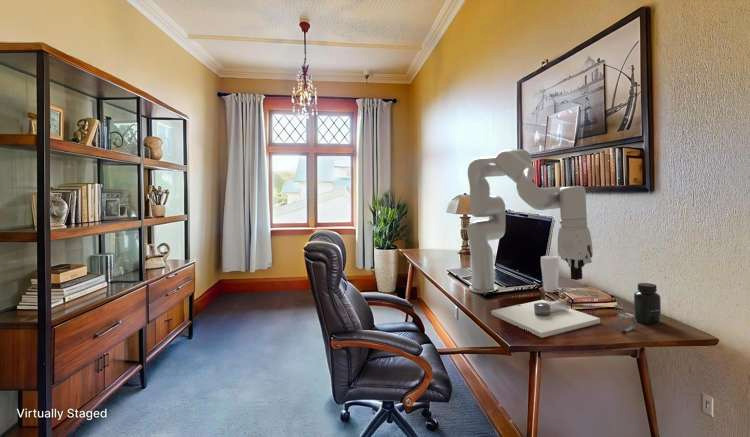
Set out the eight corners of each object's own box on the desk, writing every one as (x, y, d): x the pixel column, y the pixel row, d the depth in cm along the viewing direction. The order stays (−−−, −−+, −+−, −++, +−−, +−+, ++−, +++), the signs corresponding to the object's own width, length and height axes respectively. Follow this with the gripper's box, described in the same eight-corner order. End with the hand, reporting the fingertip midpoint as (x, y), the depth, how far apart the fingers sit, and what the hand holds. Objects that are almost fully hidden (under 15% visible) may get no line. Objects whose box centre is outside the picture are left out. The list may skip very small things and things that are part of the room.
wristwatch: (630, 327, 111) (630, 311, 111) (639, 330, 108) (638, 314, 108) (614, 330, 110) (614, 314, 109) (623, 334, 107) (622, 317, 107)
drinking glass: (562, 293, 149) (561, 257, 148) (546, 294, 150) (545, 259, 149) (555, 289, 156) (553, 255, 155) (539, 290, 156) (537, 256, 155)
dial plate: (491, 314, 131) (491, 310, 131) (543, 303, 139) (542, 299, 139) (541, 337, 108) (541, 332, 108) (600, 322, 116) (600, 317, 116)
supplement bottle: (658, 326, 110) (657, 288, 109) (631, 322, 115) (630, 285, 114) (663, 320, 114) (662, 283, 114) (637, 316, 120) (636, 280, 119)
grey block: (542, 316, 120) (541, 307, 120) (531, 312, 125) (530, 303, 125) (570, 310, 124) (570, 301, 124) (558, 306, 129) (558, 297, 129)
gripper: (547, 224, 123) (550, 276, 124) (585, 226, 109) (588, 285, 110) (563, 222, 126) (566, 273, 127) (603, 223, 112) (606, 281, 113)
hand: (576, 278), depth 118 cm, fingers closed
